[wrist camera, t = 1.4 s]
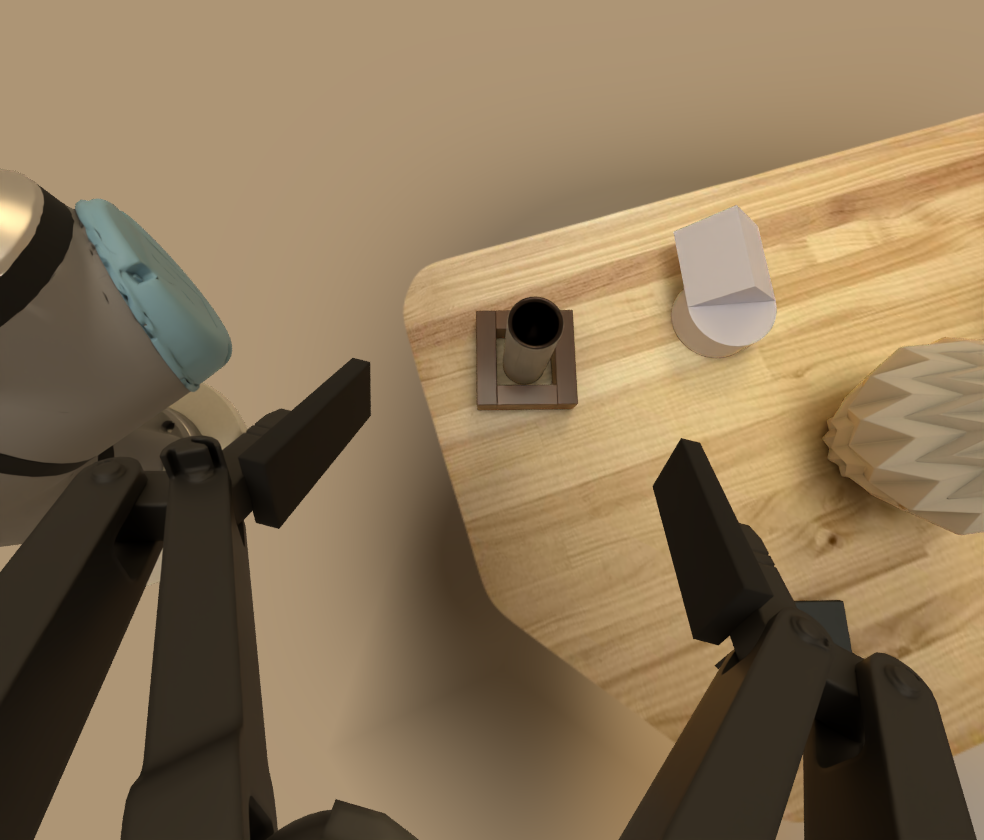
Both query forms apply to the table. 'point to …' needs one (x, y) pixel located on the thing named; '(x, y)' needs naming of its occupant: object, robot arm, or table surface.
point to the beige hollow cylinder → (531, 338)
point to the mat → (829, 619)
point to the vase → (919, 433)
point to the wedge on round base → (722, 285)
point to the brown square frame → (523, 396)
